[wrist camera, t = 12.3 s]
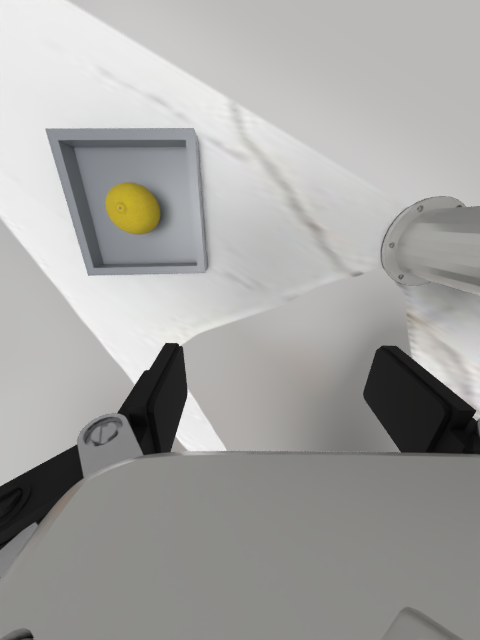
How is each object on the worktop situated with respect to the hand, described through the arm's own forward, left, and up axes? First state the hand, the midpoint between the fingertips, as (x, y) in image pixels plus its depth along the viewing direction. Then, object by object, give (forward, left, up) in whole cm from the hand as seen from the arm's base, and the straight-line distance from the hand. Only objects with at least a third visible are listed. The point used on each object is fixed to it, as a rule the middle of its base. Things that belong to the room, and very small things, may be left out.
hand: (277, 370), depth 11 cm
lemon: (+13, -8, -25) cm, 30 cm away
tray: (+14, -8, -26) cm, 31 cm away
